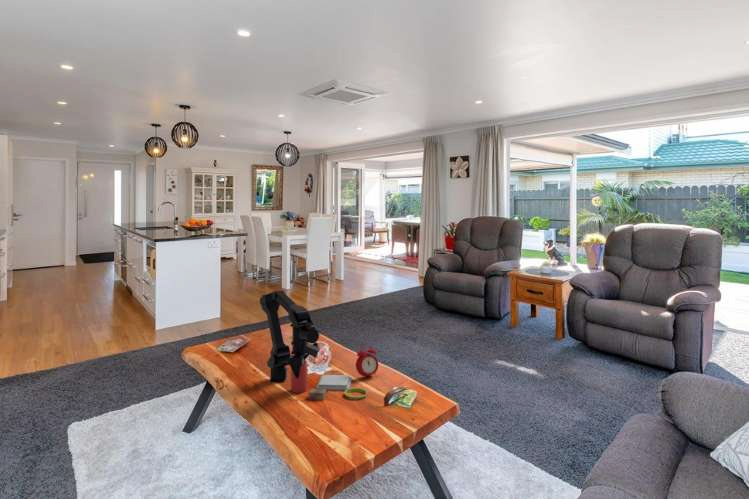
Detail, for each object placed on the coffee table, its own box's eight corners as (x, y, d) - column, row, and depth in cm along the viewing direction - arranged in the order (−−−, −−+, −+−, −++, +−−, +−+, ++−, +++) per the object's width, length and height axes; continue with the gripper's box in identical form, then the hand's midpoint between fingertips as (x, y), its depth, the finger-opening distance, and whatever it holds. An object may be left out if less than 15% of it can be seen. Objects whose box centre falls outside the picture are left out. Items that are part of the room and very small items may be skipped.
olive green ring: (371, 411, 172) (371, 390, 172) (359, 419, 164) (359, 398, 164) (352, 406, 177) (352, 386, 177) (339, 414, 169) (340, 393, 169)
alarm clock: (360, 381, 187) (360, 348, 186) (354, 376, 193) (354, 344, 192) (380, 377, 192) (380, 345, 191) (374, 373, 197) (374, 342, 197)
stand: (316, 389, 176) (316, 385, 176) (321, 378, 190) (321, 374, 190) (348, 390, 175) (349, 386, 175) (351, 379, 189) (351, 374, 189)
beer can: (293, 394, 171) (293, 365, 170) (289, 389, 176) (289, 361, 176) (309, 391, 174) (309, 363, 173) (304, 386, 179) (304, 359, 179)
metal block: (308, 399, 166) (308, 392, 166) (311, 395, 170) (311, 388, 170) (323, 400, 165) (323, 393, 165) (326, 396, 169) (326, 389, 169)
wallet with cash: (404, 403, 178) (404, 383, 178) (410, 405, 176) (410, 385, 176) (381, 414, 167) (382, 393, 167) (387, 416, 165) (388, 395, 165)
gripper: (314, 344, 165) (314, 383, 165) (321, 333, 183) (321, 368, 184) (286, 344, 165) (286, 383, 166) (296, 333, 184) (296, 367, 184)
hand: (299, 375), depth 175 cm, fingers closed on beer can, 7 cm apart
